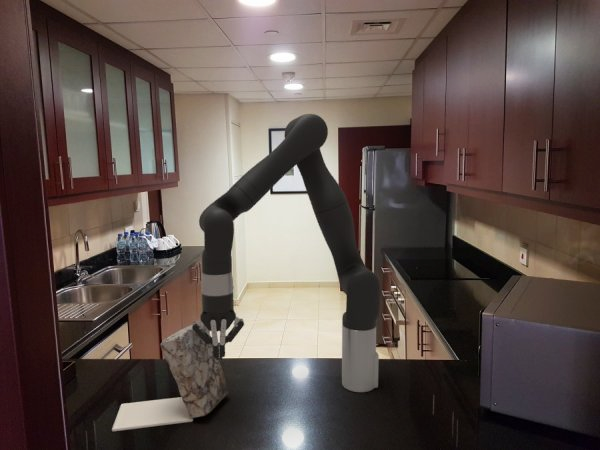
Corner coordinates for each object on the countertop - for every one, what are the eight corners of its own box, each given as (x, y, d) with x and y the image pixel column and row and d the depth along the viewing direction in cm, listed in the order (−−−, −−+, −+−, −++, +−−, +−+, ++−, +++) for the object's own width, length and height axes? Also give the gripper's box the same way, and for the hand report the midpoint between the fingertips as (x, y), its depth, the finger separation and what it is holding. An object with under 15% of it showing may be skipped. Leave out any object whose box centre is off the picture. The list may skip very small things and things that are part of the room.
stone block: (212, 414, 100) (182, 333, 100) (186, 422, 101) (157, 342, 102) (233, 390, 113) (206, 318, 113) (210, 397, 114) (184, 326, 115)
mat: (194, 397, 113) (194, 395, 113) (192, 421, 102) (192, 419, 102) (121, 405, 109) (121, 403, 109) (112, 431, 98) (112, 429, 98)
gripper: (243, 284, 108) (244, 349, 111) (190, 287, 106) (192, 354, 108) (246, 292, 101) (247, 362, 103) (188, 296, 98) (191, 367, 101)
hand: (219, 358), depth 106 cm, fingers closed
